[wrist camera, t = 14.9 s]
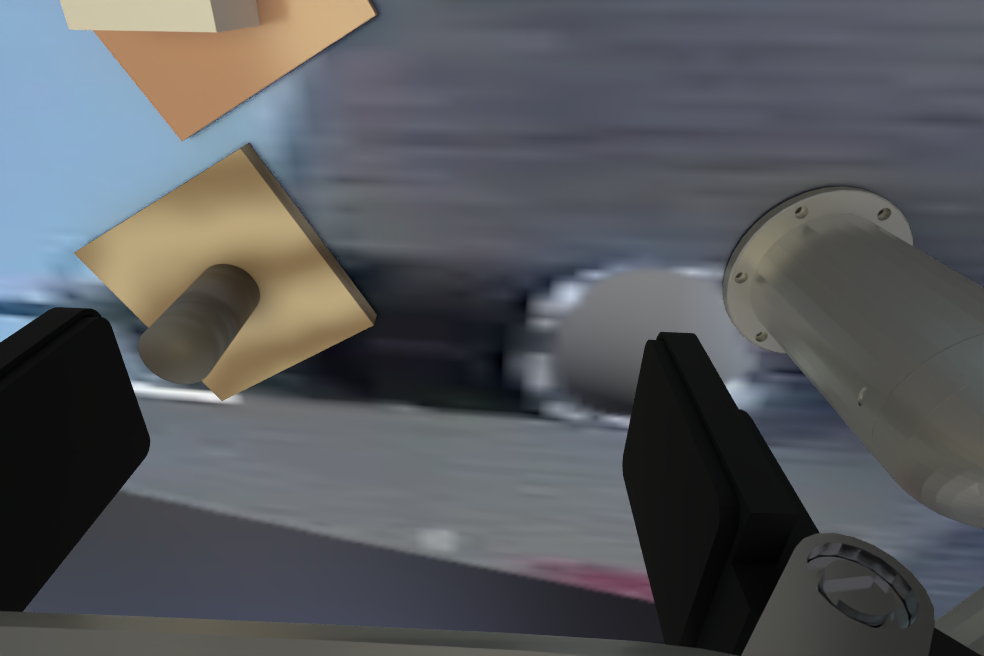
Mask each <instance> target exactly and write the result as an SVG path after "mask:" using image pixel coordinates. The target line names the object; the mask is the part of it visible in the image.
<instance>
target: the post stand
mask: <svg viewBox="0 0 984 656" xmlns="http://www.w3.org/2000/svg"><path fill="white" fill-rule="evenodd" d="M74 254H75V255H76V256H77V257H78V258H79V259H80V260H81V261H82V262H83V263H84V264H85V265H86V266H87V267H88V268H89V269H90V270H91V271H92V272H93V273H94V274H95V275H96V276H97V277H98V278H99V279H100V280H101V281H102V282H103V283H104V284H105V285H106V286H107V287H108V288H109V289H110V290H111V291H112V292H113V293H114V294H115V295H116V296H117V297H118V298H119V299H120V300H121V301H122V302H123V303H124V304H125V305H126V306H127V307H128V308H129V309H130V310H131V311H132V312H133V313H134V314H135V315H136V316H137V317H138V318H139V319H140V320H141V321H142V322H143V323H144V324H145V325H146V326H147V327H148V329H147V330H146V331H145V332H144V333H143V334H142V336H141V337H140V340H139V343H138V350H139V354H140V357H141V359H142V361H143V362H144V364H145V365H146V366H147V367H148V369H149V370H151V371H152V372H153V373H154V374H156V375H157V376H159V377H160V378H162V379H165V380H167V381H170V382H173V383H178V384H193V383H197V382H199V381H202V382H203V383H204V384H205V385H206V386H207V387H208V388H209V389H210V390H211V391H212V392H213V393H214V394H215V395H216V396H217V397H218V398H219V399H220V400H221V401H223V400H225V399H227V398H229V397H231V396H233V395H235V394H237V393H239V392H241V391H243V390H245V389H247V388H249V387H251V386H253V385H255V384H257V383H259V382H261V381H263V380H265V379H267V378H269V377H271V376H273V375H275V374H277V373H279V372H281V371H283V370H285V369H287V368H289V367H291V366H293V365H295V364H297V363H299V362H301V361H303V360H305V359H307V358H309V357H311V356H313V355H315V354H317V353H319V352H321V351H323V350H325V349H327V348H329V347H331V346H333V345H335V344H337V343H339V342H341V341H343V340H345V339H347V338H349V337H351V336H353V335H355V334H357V333H359V332H361V331H363V330H365V329H367V328H369V327H371V326H373V325H374V322H375V319H376V316H377V314H376V313H375V311H374V310H373V309H372V307H371V306H370V305H369V303H368V302H367V301H366V299H365V298H364V297H363V295H362V294H361V293H360V291H359V290H358V289H357V287H356V286H355V285H354V283H353V282H352V281H351V279H350V278H349V277H348V275H347V274H346V272H345V271H344V270H343V268H342V267H341V266H340V264H339V263H338V262H337V260H336V259H335V258H334V256H333V255H332V254H331V252H330V251H329V250H328V248H327V247H326V246H325V244H324V243H323V242H322V240H321V239H320V238H319V236H318V235H317V234H316V232H315V231H314V229H313V228H312V227H311V225H310V224H309V223H308V221H307V220H306V219H305V217H304V216H303V215H302V213H301V212H300V211H299V209H298V208H297V207H296V205H295V204H294V203H293V201H292V200H291V199H290V197H289V196H288V195H287V193H286V192H285V191H284V189H283V188H282V186H281V185H280V184H279V182H278V181H277V180H276V178H275V177H274V176H273V174H272V173H271V172H270V170H269V169H268V168H267V166H266V165H265V164H264V162H263V161H262V160H261V158H260V157H259V156H258V154H257V153H256V152H255V150H254V149H253V148H252V146H251V145H250V143H248V144H246V145H245V146H243V147H242V148H240V149H238V150H237V151H235V152H234V153H232V154H230V155H229V156H227V157H226V158H224V159H222V160H221V161H219V162H218V163H216V164H214V165H213V166H211V167H210V168H208V169H206V170H205V171H203V172H202V173H200V174H199V175H197V176H195V177H194V178H192V179H191V180H189V181H187V182H186V183H184V184H183V185H181V186H179V187H178V188H176V189H175V190H173V191H171V192H170V193H168V194H167V195H165V196H163V197H162V198H160V199H159V200H157V201H155V202H154V203H152V204H151V205H149V206H147V207H146V208H144V209H143V210H141V211H139V212H138V213H136V214H135V215H133V216H132V217H130V218H128V219H127V220H125V221H124V222H122V223H120V224H119V225H117V226H116V227H114V228H112V229H111V230H109V231H108V232H106V233H104V234H103V235H101V236H100V237H98V238H96V239H95V240H93V241H92V242H90V243H88V244H87V245H85V246H84V247H82V248H81V249H79V250H78V251H76V252H74Z"/></svg>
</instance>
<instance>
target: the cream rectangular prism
mask: <svg viewBox="0 0 984 656" xmlns="http://www.w3.org/2000/svg"><path fill="white" fill-rule="evenodd" d="M60 2H61V5H62V8H63V11H64V14H65V18H66V21H67V24H68V27H69V30H113V31H167V32H223V31H229V30H235V29H241V28H248V27H254V26H260V20H259V14H258V8H257V2H256V0H60Z"/></svg>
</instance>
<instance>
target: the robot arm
mask: <svg viewBox="0 0 984 656" xmlns="http://www.w3.org/2000/svg"><path fill="white" fill-rule="evenodd" d="M738 273H739V274H738ZM723 300H724V304H725V309H726V312H727V314H728V316H729V318H730V320H731V322H732V323H733V325H734V326H735V327H736V328H737V330H738V331H739V332H740V334H742V335H743V336H744V337H745V338H746V339H747V340H748V341H750V342H751V343H753V344H755V345H757V346H758V347H760V348H762V349H765V350H769V351H772V352H776V353H785V354H788V355H789V357H790V358H791V359H792V360H793V361H794V363H795V364H796V365H797V366H798V367H799V368H800V370H801V371H802V372H803V373H804V374H805V376H806V377H807V378H808V379H809V380H810V381H811V383H812V384H813V385H814V386H815V387H816V389H817V390H818V391H819V392H820V393H821V394H822V396H823V397H824V398H825V399H826V400H827V402H828V403H829V404H830V405H831V406H832V407H833V409H834V410H835V411H836V412H837V413H838V415H839V416H840V417H841V418H842V419H843V420H844V422H845V423H846V424H847V425H848V426H849V427H850V429H851V430H852V431H853V432H854V433H855V435H856V436H857V437H858V438H859V439H860V440H861V442H862V443H863V444H864V445H865V446H866V448H867V449H868V450H869V451H870V452H871V453H872V455H873V456H874V457H875V458H876V459H877V461H878V462H879V463H880V464H881V465H882V466H883V467H884V468H885V470H886V471H887V472H888V473H889V474H890V476H891V477H892V478H893V479H894V480H895V481H896V482H897V483H898V484H899V485H900V486H901V487H902V488H903V489H904V490H905V491H906V492H907V493H908V494H909V495H910V496H912V497H913V498H914V499H916V500H917V501H918V502H920V503H921V504H923V505H924V506H926V507H928V508H929V509H931V510H933V511H935V512H937V513H938V514H940V515H943V516H945V517H948V518H950V519H953V520H956V521H959V522H961V523H964V524H967V525H971V526H975V527H978V528H982V529H984V288H983V287H982V286H980V285H978V284H976V283H975V282H973V281H971V280H970V279H968V278H966V277H965V276H963V275H961V274H959V273H958V272H956V271H954V270H953V269H951V268H949V267H948V266H946V265H944V264H942V263H941V262H939V261H937V260H936V259H934V258H932V257H931V256H929V255H927V254H925V253H924V252H922V251H920V250H919V249H917V248H915V247H914V245H913V235H912V232H911V229H910V225H909V223H908V221H907V220H906V218H905V217H904V215H903V213H902V212H901V211H900V210H899V209H898V208H897V207H896V206H894V205H893V204H892V203H891V202H890V201H888V200H886V199H884V198H883V197H881V196H879V195H877V194H875V193H872V192H869V191H867V190H864V189H861V188H853V187H845V186H840V187H826V188H821V189H817V190H813V191H809V192H805V193H803V194H801V195H798V196H796V197H794V198H791V199H789V200H787V201H785V202H784V203H782V204H780V205H779V206H777V207H775V208H774V209H772V210H770V211H769V212H768V213H767V214H766V215H764V216H763V217H762V218H761V219H760V220H758V221H757V222H756V223H755V224H754V225H753V226H752V227H751V229H750V230H749V231H748V232H747V233H746V234H745V235H744V236H743V238H742V239H741V241H740V242H739V244H738V245H737V247H736V248H735V250H734V252H733V253H732V256H731V258H730V261H729V263H728V265H727V268H726V272H725V276H724V281H723ZM149 447H150V437H149V434H148V431H147V428H146V425H145V422H144V419H143V416H142V413H141V410H140V407H139V405H138V402H137V399H136V396H135V393H134V390H133V387H132V384H131V381H130V379H129V376H128V373H127V370H126V367H125V364H124V361H123V358H122V355H121V353H120V350H119V347H118V344H117V341H116V338H115V335H114V332H113V329H112V327H111V325H110V323H109V321H108V320H107V319H105V318H103V317H101V315H100V314H99V313H98V312H97V311H96V310H93V309H88V308H63V307H55V308H52V309H50V310H48V311H47V312H45V313H44V314H42V315H41V316H39V317H38V318H36V319H35V320H33V321H32V322H30V323H29V324H27V325H26V326H24V327H23V328H21V329H20V330H18V331H17V332H15V333H14V334H12V335H11V336H9V337H8V338H6V339H5V340H3V341H2V342H0V656H984V586H983V587H982V588H981V589H979V590H978V591H976V592H975V593H974V594H972V595H971V596H969V597H968V598H967V599H965V600H964V601H962V602H961V603H960V604H958V605H957V606H955V607H954V608H953V609H951V610H950V611H948V612H947V613H946V614H944V615H943V616H942V617H940V618H939V619H937V620H936V621H935V616H934V606H933V604H932V602H931V600H930V598H929V596H928V593H927V591H926V589H925V588H924V587H923V586H922V584H921V583H920V582H919V581H918V580H917V578H916V577H915V576H914V575H913V573H912V572H911V571H909V570H908V569H907V568H906V567H905V566H904V565H902V564H901V563H900V562H899V561H898V560H896V559H895V558H894V557H892V556H891V555H889V554H888V553H886V552H884V551H883V550H881V549H879V548H878V547H876V546H874V545H872V544H870V543H867V542H865V541H862V540H860V539H857V538H855V537H851V536H846V535H841V534H837V533H819V531H818V529H817V528H816V526H815V524H814V523H813V521H812V519H811V518H810V516H809V514H808V513H807V511H806V509H805V507H804V506H803V504H802V502H801V501H800V499H799V497H798V496H797V494H796V492H795V491H794V489H793V487H792V486H791V484H790V482H789V481H788V479H787V477H786V475H785V474H784V472H783V470H782V469H781V467H780V465H779V464H778V462H777V460H776V459H775V457H774V455H773V454H772V452H771V450H770V448H769V447H768V445H767V443H766V442H765V440H764V438H763V437H762V435H761V433H760V432H759V430H758V428H757V427H756V425H755V423H754V421H753V420H752V418H751V417H750V416H749V414H748V413H747V412H745V411H743V410H739V409H738V407H737V406H736V404H735V402H734V400H733V399H732V397H731V395H730V393H729V392H728V390H727V388H726V386H725V385H724V383H723V381H722V379H721V378H720V376H719V374H718V372H717V371H716V369H715V367H714V366H713V364H712V362H711V360H710V358H709V357H708V355H707V353H706V352H705V350H704V348H703V346H702V345H701V343H700V341H699V339H698V338H697V336H696V335H695V334H693V333H674V332H673V333H672V332H660V333H659V335H658V336H657V339H656V340H648V341H647V343H646V345H645V349H644V354H643V359H642V364H641V369H640V374H639V379H638V384H637V389H636V394H635V399H634V404H633V409H632V414H631V419H630V424H629V429H628V434H627V439H626V444H625V449H624V454H623V464H622V465H623V477H624V481H625V485H626V489H627V493H628V497H629V501H630V505H631V509H632V513H633V517H634V521H635V525H636V529H637V533H638V537H639V542H640V546H641V550H642V554H643V558H644V562H645V566H646V570H647V574H648V578H649V582H650V586H651V590H652V594H653V598H654V602H655V606H656V610H657V614H658V618H659V622H660V626H661V630H662V634H663V638H664V642H665V645H664V644H655V643H646V642H637V641H623V640H606V639H591V638H577V637H561V636H546V635H529V634H515V633H495V632H473V631H453V630H452V631H451V630H432V629H431V630H430V629H410V628H390V627H367V626H348V625H326V624H304V623H281V622H258V621H257V622H256V621H233V620H211V619H187V618H161V617H138V616H114V615H89V614H63V613H35V612H23V611H24V609H25V608H26V606H28V604H29V603H30V602H31V601H32V599H33V598H34V597H35V595H36V594H37V593H38V592H39V590H40V589H41V588H42V587H43V586H44V584H45V583H46V582H47V581H48V579H49V578H50V577H51V575H52V574H53V573H54V572H55V570H56V569H57V568H58V567H59V565H60V564H61V563H62V562H63V560H64V559H65V558H66V557H67V555H68V554H69V553H70V551H71V550H72V549H73V548H74V546H75V545H76V544H77V543H78V542H79V540H80V539H81V538H82V536H83V535H84V534H85V532H87V530H88V529H89V528H90V526H91V525H92V524H93V523H94V521H95V520H96V519H97V518H98V516H99V515H100V514H101V513H102V511H103V510H104V509H105V508H106V506H107V505H108V504H109V503H110V501H111V500H112V499H113V498H114V496H115V495H116V494H117V493H118V491H119V490H120V489H121V488H122V486H123V485H124V484H125V483H126V481H127V480H128V479H129V478H130V476H131V475H132V474H133V472H134V471H135V470H136V469H137V467H138V466H139V465H140V464H141V462H142V461H143V460H144V459H145V457H146V456H147V454H148V451H149Z"/></svg>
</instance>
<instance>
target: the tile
mask: <svg viewBox="0 0 984 656" xmlns="http://www.w3.org/2000/svg"><path fill="white" fill-rule="evenodd" d="M256 2H257V8H258V14H259V20H260V26H254V27H248V28H241V29H235V30H229V31H223V32H167V31H113V30H93V31H94V32H95V34H96V35H97V36H98V37H99V39H100V40H101V41H102V42H103V44H104V45H105V46H106V47H107V49H108V50H109V51H110V52H111V54H112V55H113V56H114V57H115V58H116V60H117V61H118V62H119V63H120V65H121V66H122V67H123V68H124V70H125V71H126V72H127V73H128V75H129V76H130V77H131V78H132V80H133V81H134V82H135V83H136V85H137V86H138V87H139V88H140V90H141V91H142V92H143V93H144V95H145V96H146V97H147V98H148V100H149V101H150V102H151V103H152V105H153V106H154V107H155V108H156V110H157V111H158V112H159V113H160V115H161V116H162V117H163V118H164V119H165V121H166V122H167V123H168V124H169V126H170V127H171V128H172V129H173V131H174V132H175V133H176V134H177V136H178V137H179V138H180V139H181V141H183V140H185V139H187V138H189V137H191V136H192V135H194V134H195V133H197V132H198V131H200V130H201V129H203V128H205V127H206V126H208V125H209V124H211V123H212V122H214V121H215V120H217V119H218V118H220V117H221V116H223V115H225V114H226V113H228V112H229V111H231V110H232V109H234V108H235V107H237V106H238V105H240V104H241V103H243V102H245V101H246V100H248V99H249V98H251V97H252V96H254V95H255V94H257V93H258V92H260V91H261V90H263V89H265V88H266V87H268V86H269V85H271V84H272V83H274V82H275V81H277V80H278V79H280V78H281V77H283V76H285V75H286V74H288V73H289V72H291V71H292V70H294V69H295V68H297V67H298V66H300V65H301V64H303V63H305V62H306V61H308V60H309V59H311V58H312V57H314V56H315V55H317V54H318V53H320V52H321V51H323V50H325V49H326V48H328V47H329V46H331V45H332V44H334V43H335V42H337V41H338V40H340V39H341V38H343V37H345V36H346V35H348V34H349V33H351V32H352V31H354V30H355V29H357V28H358V27H360V26H361V25H363V24H365V23H366V22H368V21H369V20H371V19H372V18H374V17H375V16H377V15H378V12H377V11H376V9H375V7H374V5H373V3H372V2H371V0H256Z"/></svg>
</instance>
